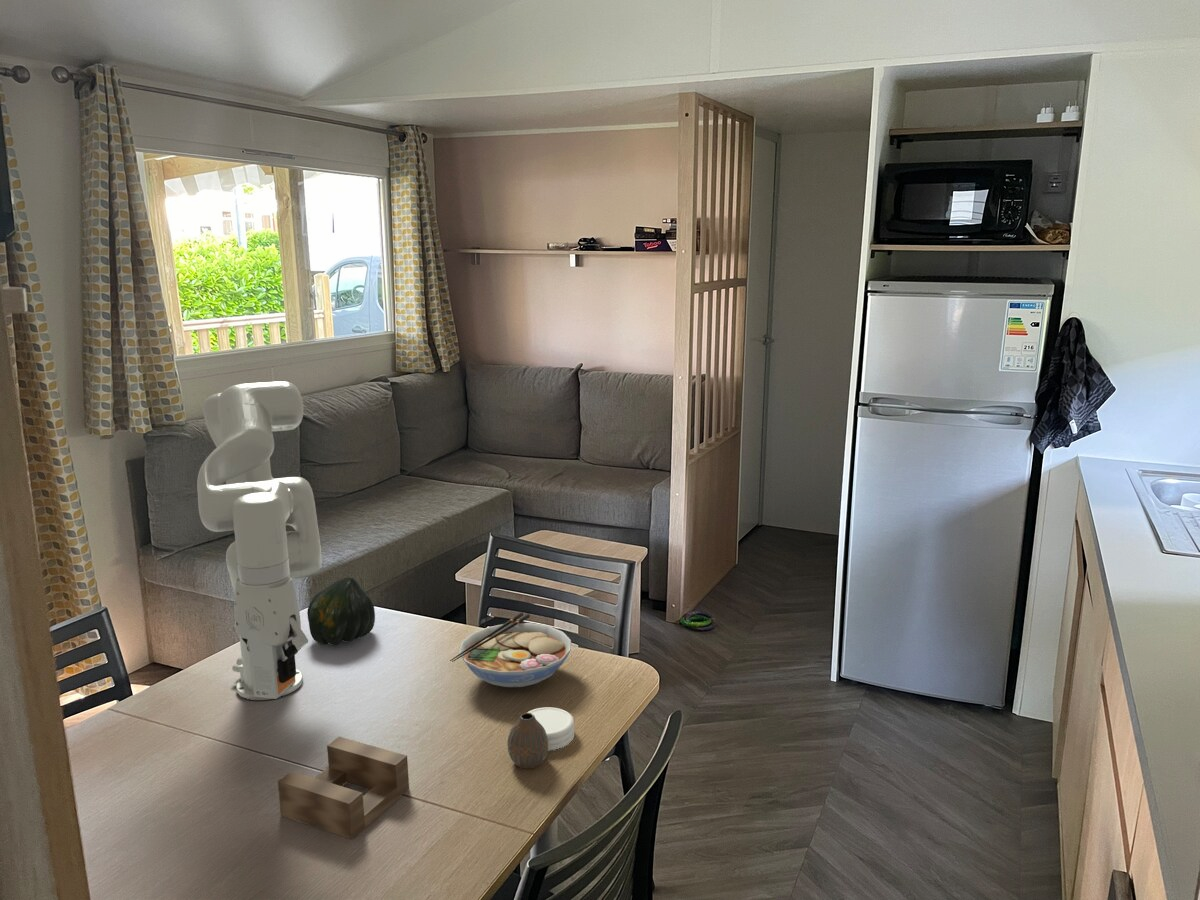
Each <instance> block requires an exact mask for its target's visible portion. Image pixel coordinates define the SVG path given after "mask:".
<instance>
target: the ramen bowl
mask: <svg viewBox="0 0 1200 900" xmlns="http://www.w3.org/2000/svg"><path fill="white" fill-rule="evenodd" d="M530 615H531V614H528V613H527V614H526V615H525V614H524V612H519V613H518V614H515V616H513V617H512V618H510V619H509V620H507V621H506V622H504V623H502V624H497V625H493V626H487V627H485V628H482V629H480V630H477V631H475V632H472V633H470V635H469V636H467V637H466V638H464V640H462V641H461V643H460V647H459V650H458V653H459V654H457V655H456V656H454V657H453V658H452V659H449V662H452V663H454V662H455V661H456V660H458V659H460V658H462V660H463V662H464V663H465V665H466V666H467V667H468V668H469V670H470V671H471V672H472V673H473V674H474V675H475V676H476V677H477V678H479V679H481V680H482V681H484V682H486V683H488V684H491V685H494V686H498V687H504V688H523V687H528V686H532V685H536V684H538V683H541V682H542V681H545V680H547V679H548V678H550V677H552V675H554V674H555V673H556V672H557V670H558V669H559V668H560V667H562V665H563V663H564V662H565V661H566V659H567V658H568V657H569V655H570V652H571V649H572V640H571V639H570V637H569V636H568V635H567V634H566V633H565V632H564V631H562V630H560V629H558V628H556V627H553V626H550V625H547V624H539V623H534V622H524V621H526V620H527V619H529V618H530Z"/></svg>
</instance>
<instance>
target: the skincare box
mask: <svg viewBox="0 0 1200 900" xmlns="http://www.w3.org/2000/svg"><path fill="white" fill-rule="evenodd" d="M259 630H260V629H258V630H257V629H254V628H249V629H248V638H249V648H250V659H251V670H252V681H253V691H254V696H255V697H263V698H271V699H270V700H274V699H275V700H277V699H278V698H280V697H279V696H280V695H281V694H282V693H283V692H285V691H286V690H287V689H288V688H289V687H290V686H291V685H293V684H294V683H295V682H296V680H295V676H294V677H293V678H291V679H289V680H288V681H286V682H285V683H280V681H279V674H278V663H277V661H278V660H279V659H280V656H279V653H278V650H277V647H276V646H272V645H268V644H265V643H262V641H261V636H260V631H259ZM284 646H285V649H287V648H288V644H287V643H285V644H284Z"/></svg>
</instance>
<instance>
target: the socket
mask: <svg viewBox="0 0 1200 900" xmlns="http://www.w3.org/2000/svg"><path fill="white" fill-rule="evenodd" d="M326 750H327V751H326V752H327V763H328V767H326V768H325V769H324V770H322V772H321V773H320V772H319V774H318V775H317V776H315V777H314V776H309V775H307V774H303V773H300V772H297V771H293V770H291V771H289V772H288V773H287V774H286V775H284V776H283V777H281V778H280V779H278V780H277V788H278V795H279V796H278V798H279V806H280V809H279V810H280V815H281V816H283V817H286V818H287V819H291V820H294V821H296V822H300V823H303V824H306V825H309V826H311V827H315V828H318V829H321V830H323V831H326V832H329V833H333V834H335V835H339V836H342V837H345V838H347V839H350V840H353V839H354V838H356V836H358V835H359V834H360V833H361V832H362V831H363V830H365V828H366V827H367V826H369V825H371V823H373V821H375V819H377V818H378V817H379V816H380V815H382V814H383V813H384V812H385V811H386V810H387V809H388V808H389V807H390V806H391V805H392V804H394V803H395V802H397V800H398V799H399V798H400V797H402V795H404V794H405V793H406V792H407V791H409V789H410V781H409V780H410V779H409V763H408V755H407V754H406V755H405V754H402V753H399V752H395V751H392V750H388V749H384V748H382V747H377V746H374V745H372V744H371V745H370V744H367V743H364V742H360V741H356V740H353V739H349V738H345V737H343V736H342V737H341V736H338V737H336V738H335V739H334V740H332V741H331V742H330V743H328V744H327V745H326ZM346 784H349V785H353V786H356V787H358V788H363V789H365V790H368V791H367V792H366V793H365V794H363V792H361V791H358V790H354V789H351V788H348V787H346V786H345V787H344V785H346Z"/></svg>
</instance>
